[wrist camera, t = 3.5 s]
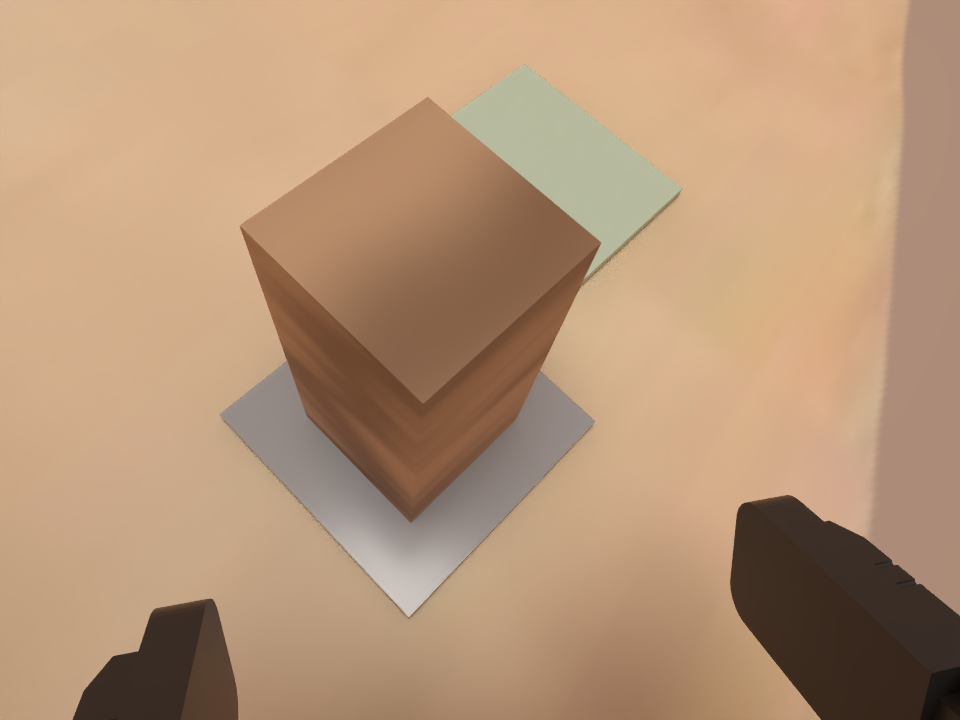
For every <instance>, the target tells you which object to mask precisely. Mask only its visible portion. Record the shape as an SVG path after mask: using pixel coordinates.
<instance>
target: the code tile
mask: <svg viewBox="0 0 960 720" xmlns="http://www.w3.org/2000/svg"><path fill="white" fill-rule="evenodd" d="M220 416H221V418H222V419H223V420H224V421H225V422H226V423H227V424H228V425H229V426H230V428H231V429H232V430H233V431H234V432H235V433H236V434H237V435H238V436H239V437H240V438H241V439H242V440H243V441H244V443H245V444H246V445H247V446H248V447H249V448H250V449H251V450H252V451H253V452H254V453H255V454H256V455H257V456H258V458H259V459H260V460H261V461H262V462H263V463H264V464H265V465H266V466H267V467H268V468H269V469H270V470H271V471H272V473H273V474H274V475H275V476H276V477H277V478H278V479H279V480H280V481H281V482H282V483H283V484H284V485H285V486H286V488H287V489H288V490H289V491H290V492H291V493H292V494H293V495H294V496H295V497H296V498H297V499H298V500H299V501H300V503H301V504H302V505H303V506H304V507H305V508H306V509H307V510H308V511H309V512H310V513H311V514H312V515H313V516H314V517H315V519H316V520H317V521H318V522H319V523H320V524H321V525H322V526H323V527H324V528H325V529H326V530H327V531H328V532H329V534H330V535H331V536H332V537H333V538H334V539H335V540H336V541H337V542H338V543H339V544H340V545H341V546H342V547H343V549H344V550H345V551H346V552H347V553H348V554H349V555H350V556H351V557H352V558H353V559H354V560H355V561H356V562H357V564H358V565H359V566H360V567H361V568H362V569H363V570H364V571H365V572H366V573H367V574H368V575H369V576H370V577H371V579H372V580H373V581H374V582H375V583H376V584H377V585H378V586H379V587H380V588H381V589H382V590H383V591H384V592H385V594H386V595H387V596H388V597H389V598H390V599H391V600H392V601H393V602H394V603H395V604H396V605H397V606H398V607H399V609H400V610H401V611H402V612H403V613H404V614H405V615H406V616H407V617H408V618H409V617H410V616H411V615H412V614H413V613H414V612H415V611H416V610H417V609H418V608H419V607H420V606H421V605H422V604H423V603H424V602H425V601H426V599H427V598H428V597H429V596H430V595H431V594H432V593H433V592H434V591H435V590H436V589H437V588H438V587H439V586H440V585H441V584H442V583H443V582H444V581H445V580H446V578H447V577H448V576H449V575H450V574H451V573H452V572H453V571H454V570H455V569H456V568H457V567H458V566H459V565H460V564H461V563H462V562H463V561H464V560H465V559H466V557H467V556H468V555H469V554H470V553H471V552H472V551H473V550H474V549H475V548H476V547H477V546H478V545H479V544H480V543H481V542H482V541H483V540H484V539H485V538H486V536H487V535H488V534H489V533H490V532H491V531H492V530H493V529H494V528H495V527H496V526H497V525H498V524H499V523H500V522H501V521H502V520H503V519H504V518H505V517H506V515H507V514H508V513H509V512H510V511H511V510H512V509H513V508H514V507H515V506H516V505H517V504H518V503H519V502H520V501H521V500H522V499H523V498H524V497H525V496H526V494H527V493H528V492H529V491H530V490H531V489H532V488H533V487H534V486H535V485H536V484H537V483H538V482H539V481H540V480H541V479H542V478H543V477H544V476H545V475H546V473H547V472H548V471H549V470H550V469H551V468H552V467H553V466H554V465H555V464H556V463H557V462H558V461H559V460H560V459H561V458H562V457H563V456H564V455H565V454H566V453H567V451H568V450H569V449H570V448H571V447H572V446H573V445H574V444H575V443H576V442H577V441H578V440H579V439H580V438H581V437H582V436H583V435H584V434H585V433H586V432H587V430H588V429H589V428H590V427H591V426H592V425H593V424H594V423H595V421H594V420H593V419H592V418H591V417H590V416H589V415H588V414H587V413H586V412H585V411H583V410H582V409H581V408H580V407H579V406H578V405H577V404H576V403H575V402H574V401H572V400H571V399H570V398H569V397H568V396H567V395H566V394H565V393H564V392H563V391H561V390H560V389H559V388H558V387H557V386H556V385H555V384H554V383H553V382H552V381H550V380H549V379H548V378H547V377H546V376H545V375H544V374H543V373H542V372H541V371H539V373H538V375H537V377H536V379H535V381H534V383H533V385H532V387H531V389H530V392H529V394H528V396H527V398H526V400H525V402H524V404H523V406H522V408H521V410H520V412H519V414H518V416H517V418H516V420H515V421H514V422H513V423H512V424H511V425H510V426H509V427H508V428H507V429H506V430H505V431H504V432H503V433H502V434H501V435H500V436H499V437H498V438H497V439H496V440H495V441H494V442H493V443H492V444H491V445H490V446H489V447H488V448H487V449H486V450H485V451H484V452H483V453H482V454H481V455H480V456H479V457H478V458H477V459H476V460H475V461H474V462H473V463H472V464H470V465H469V466H468V467H467V468H466V469H465V470H464V471H463V472H462V473H461V474H460V475H459V476H458V477H457V478H456V479H455V480H454V481H453V482H452V483H451V484H450V485H449V486H448V487H447V488H446V489H445V490H444V491H443V492H442V493H441V494H440V495H439V496H438V497H437V498H436V499H435V500H434V501H433V502H432V503H431V504H430V505H429V506H428V507H427V508H426V509H425V510H424V511H423V512H422V513H421V514H420V515H419V516H418V517H417V518H416V519H415V520H413V521H412V522H411V523H410V522H409V521H408V520H407V519H406V518H405V517H404V516H403V515H402V514H401V513H400V512H399V510H398V509H397V508H396V507H395V506H394V505H393V504H392V503H391V502H390V501H389V500H388V499H387V498H386V497H385V496H384V495H383V494H382V493H381V492H380V491H379V490H378V489H377V488H376V487H375V486H374V485H373V484H372V483H371V482H370V481H369V480H368V479H367V478H366V477H365V476H364V475H363V473H362V472H361V471H360V470H359V469H358V468H357V467H356V466H355V465H354V464H353V463H352V462H351V461H350V460H349V459H348V458H347V457H346V456H345V455H344V454H343V453H342V452H341V451H340V450H339V449H338V448H337V447H336V446H335V445H334V444H333V443H332V442H331V441H330V440H329V439H328V437H327V436H326V435H325V434H324V433H323V432H322V431H321V430H320V429H319V428H318V427H317V426H316V425H315V424H314V423H313V422H312V421H311V420H310V419H309V418H308V417H307V415H306V412H305V409H304V407H303V404H302V401H301V398H300V395H299V392H298V390H297V387H296V384H295V381H294V378H293V375H292V373H291V370H290V367H289V364H288V361H286V362H285V363H284V364H283V365H281V366H280V367H279V368H278V369H276V370H275V371H274V372H273V373H271V374H270V375H269V376H268V377H266V378H265V379H264V380H263V381H261V382H260V383H259V384H258V385H256V386H255V387H254V388H252V389H251V390H250V391H249V392H247V393H246V394H245V395H244V396H242V397H241V398H240V399H239V400H237V401H236V402H235V403H234V404H232V405H231V406H230V407H229V408H227V409H226V410H225V411H224V412H222V413H221V414H220Z"/></svg>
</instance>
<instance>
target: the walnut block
mask: <svg viewBox="0 0 960 720" xmlns="http://www.w3.org/2000/svg"><path fill="white" fill-rule="evenodd" d="M240 228H241V231H242V234H243V237H244V239H245V242H246V245H247V248H248V251H249V254H250V256H251V259H252V262H253V265H254V268H255V271H256V273H257V276H258V279H259V282H260V285H261V288H262V290H263V293H264V296H265V299H266V302H267V305H268V307H269V310H270V313H271V316H272V319H273V322H274V324H275V327H276V330H277V333H278V336H279V339H280V341H281V344H282V347H283V350H284V353H285V356H286V358H287V361H288V364H289V367H290V370H291V373H292V375H293V378H294V381H295V384H296V387H297V390H298V392H299V395H300V398H301V401H302V404H303V407H304V409H305V412H306V415H307V417H308V418H309V419H310V420H311V421H312V422H313V423H314V424H315V425H316V426H317V427H318V428H319V429H320V430H321V431H322V432H323V433H324V434H325V435H326V436H327V437H328V439H329V440H330V441H331V442H332V443H333V444H334V445H335V446H336V447H337V448H338V449H339V450H340V451H341V452H342V453H343V454H344V455H345V456H346V457H347V458H348V459H349V460H350V461H351V462H352V463H353V464H354V465H355V466H356V467H357V468H358V469H359V470H360V471H361V472H362V473H363V475H364V476H365V477H366V478H367V479H368V480H369V481H370V482H371V483H372V484H373V485H374V486H375V487H376V488H377V489H378V490H379V491H380V492H381V493H382V494H383V495H384V496H385V497H386V498H387V499H388V500H389V501H390V502H391V503H392V504H393V505H394V506H395V507H396V508H397V509H398V510H399V512H400V513H401V514H402V515H403V516H404V517H405V518H406V519H407V520H408V521H409V522H410V523H411V522H412V521H413V520H415V519H416V518H417V517H418V516H419V515H420V514H421V513H422V512H423V511H424V510H425V509H426V508H427V507H428V506H429V505H430V504H431V503H432V502H433V501H434V500H435V499H436V498H437V497H438V496H439V495H440V494H441V493H442V492H443V491H444V490H445V489H446V488H447V487H448V486H449V485H450V484H451V483H452V482H453V481H454V480H455V479H456V478H457V477H458V476H459V475H460V474H461V473H462V472H463V471H464V470H465V469H466V468H467V467H468V466H469V465H470V464H472V463H473V462H474V461H475V460H476V459H477V458H478V457H479V456H480V455H481V454H482V453H483V452H484V451H485V450H486V449H487V448H488V447H489V446H490V445H491V444H492V443H493V442H494V441H495V440H496V439H497V438H498V437H499V436H500V435H501V434H502V433H503V432H504V431H505V430H506V429H507V428H508V427H509V426H510V425H511V424H512V423H513V422H514V421H515V420H516V418H517V416H518V414H519V412H520V410H521V408H522V406H523V404H524V402H525V400H526V398H527V396H528V394H529V392H530V389H531V387H532V385H533V383H534V381H535V379H536V377H537V375H538V373H539V371H540V369H541V367H542V365H543V363H544V361H545V358H546V356H547V354H548V352H549V350H550V348H551V346H552V344H553V342H554V340H555V338H556V336H557V334H558V332H559V330H560V327H561V325H562V323H563V321H564V319H565V317H566V315H567V313H568V311H569V309H570V307H571V305H572V303H573V301H574V299H575V296H576V294H577V292H578V290H579V288H580V286H581V284H582V282H583V280H584V278H585V276H586V274H587V272H588V270H589V268H590V265H591V263H592V261H593V259H594V257H595V255H596V253H597V251H598V249H599V247H600V245H601V242H600V241H599V240H598V239H597V238H595V237H594V236H593V235H592V234H591V233H589V232H588V231H587V230H586V229H585V228H584V227H582V226H581V225H580V224H579V223H578V222H576V221H575V220H574V219H573V218H572V217H570V216H569V215H568V214H567V213H566V212H564V211H563V210H562V209H561V208H560V207H558V206H557V205H556V204H555V203H554V202H552V201H551V200H550V199H549V198H548V197H546V196H545V195H544V194H543V193H542V192H541V191H539V190H538V189H537V188H536V187H535V186H533V185H532V184H531V183H530V182H529V181H527V180H526V179H525V178H524V177H523V176H521V175H520V174H519V173H518V172H517V171H515V170H514V169H513V168H512V167H511V166H509V165H508V164H507V163H506V162H505V161H503V160H502V159H501V158H500V157H499V156H498V155H496V154H495V153H494V152H493V151H492V150H490V149H489V148H488V147H487V146H486V145H484V144H483V143H482V142H481V141H480V140H478V139H477V138H476V137H475V136H474V135H472V134H471V133H470V132H469V131H468V130H466V129H465V128H464V127H463V126H462V125H461V124H459V123H458V122H457V121H456V120H455V119H453V118H452V117H451V116H450V115H449V114H447V113H446V112H445V111H444V110H443V109H441V108H440V107H439V106H438V105H437V104H435V103H434V102H433V101H432V100H431V99H429V98H428V97H427V98H426V99H424V100H423V101H421V102H420V103H418V104H417V105H415V106H414V107H413V108H411V109H410V110H408V111H407V112H405V113H404V114H402V115H401V116H399V117H398V118H396V119H395V120H393V121H392V122H391V123H389V124H388V125H386V126H385V127H383V128H382V129H380V130H379V131H377V132H376V133H374V134H373V135H372V136H370V137H369V138H367V139H366V140H364V141H363V142H361V143H360V144H358V145H357V146H355V147H354V148H353V149H351V150H350V151H348V152H347V153H345V154H344V155H342V156H341V157H339V158H338V159H336V160H335V161H333V162H332V163H331V164H329V165H328V166H326V167H325V168H323V169H322V170H320V171H319V172H317V173H316V174H314V175H313V176H312V177H310V178H309V179H307V180H306V181H304V182H303V183H301V184H300V185H298V186H297V187H295V188H294V189H293V190H291V191H290V192H288V193H287V194H285V195H284V196H282V197H281V198H279V199H278V200H276V201H275V202H273V203H272V204H271V205H269V206H268V207H266V208H265V209H263V210H262V211H260V212H259V213H257V214H256V215H254V216H253V217H252V218H250V219H249V220H247V221H246V222H244V223H243V224H241V225H240Z"/></svg>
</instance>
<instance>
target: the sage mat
mask: <svg viewBox="0 0 960 720" xmlns="http://www.w3.org/2000/svg"><path fill="white" fill-rule="evenodd" d="M451 117H452V118H453V119H455V120H456V121H457V122H458V123H459V124H461V125H462V126H463V127H464V128H465V129H466V130H468V131H469V132H470V133H471V134H472V135H474V136H475V137H476V138H477V139H478V140H480V141H481V142H482V143H483V144H484V145H486V146H487V147H488V148H489V149H490V150H492V151H493V152H494V153H495V154H496V155H498V156H499V157H500V158H501V159H502V160H503V161H505V162H506V163H507V164H508V165H509V166H511V167H512V168H513V169H514V170H515V171H517V172H518V173H519V174H520V175H521V176H523V177H524V178H525V179H526V180H527V181H529V182H530V183H531V184H532V185H533V186H535V187H536V188H537V189H538V190H539V191H541V192H542V193H543V194H544V195H545V196H546V197H548V198H549V199H550V200H551V201H552V202H554V203H555V204H556V205H557V206H558V207H560V208H561V209H562V210H563V211H564V212H566V213H567V214H568V215H569V216H570V217H572V218H573V219H574V220H575V221H576V222H578V223H579V224H580V225H581V226H582V227H584V228H585V229H586V230H587V231H588V232H589V233H591V234H592V235H593V236H594V237H595V238H597V239H598V240H599V241H600V242H601V245H600V247H599V249H598V251H597V253H596V255H595V257H594V259H593V261H592V263H591V265H590V268H589V270H588V272H587V274H586V276H585V278H584V280H583V282H582V284H583V283H584V282H586V281H587V280H588V279H589V278H590V277H591V276H592V275H593V274H594V273H595V272H596V271H597V270H599V269H600V268H601V267H602V266H603V265H604V264H605V263H606V262H607V261H608V260H609V259H610V258H612V257H613V256H614V255H615V254H616V253H617V252H618V251H619V250H620V249H621V248H622V247H623V246H624V245H626V244H627V243H628V242H629V241H630V240H631V239H632V238H633V237H634V236H635V235H636V234H637V233H639V232H640V231H641V230H642V229H643V228H644V227H645V226H646V225H647V224H648V223H649V222H650V221H652V220H653V219H654V218H655V217H656V216H657V215H658V214H659V213H660V212H661V211H662V210H663V209H664V208H666V207H667V206H668V205H669V204H670V203H671V202H672V201H673V200H674V199H675V198H676V197H677V196H678V195H679V194H680V192H681V190H682V189H683V188H681V187H680V186H679V185H678V184H676V183H675V182H674V181H673V180H671V179H670V178H669V177H667V176H666V175H665V174H664V173H662V172H661V171H660V170H659V169H657V168H656V167H655V166H654V165H652V164H651V163H650V162H648V161H647V160H646V159H645V158H643V157H642V156H641V155H640V154H638V153H637V152H636V151H635V150H633V149H632V148H631V147H630V146H628V145H627V144H626V143H624V142H623V141H622V140H621V139H619V138H618V137H617V136H616V135H614V134H613V133H612V132H611V131H609V130H608V129H607V128H605V127H604V126H603V125H602V124H600V123H599V122H598V121H597V120H595V119H594V118H593V117H592V116H590V115H589V114H588V113H586V112H585V111H584V110H583V109H581V108H580V107H579V106H578V105H576V104H575V103H574V102H573V101H571V100H570V99H569V98H567V97H566V96H565V95H564V94H562V93H561V92H560V91H559V90H557V89H556V88H555V87H554V86H552V85H551V84H550V83H548V82H547V81H546V80H545V79H543V78H542V77H541V76H540V75H538V74H537V73H536V72H535V71H533V70H532V69H531V68H530V67H528V66H527V65H526V64H524V65H522V66H521V67H519V68H518V69H517V70H515V71H514V72H512V73H511V74H509V75H508V76H507V77H505V78H504V79H502V80H501V81H500V82H498V83H497V84H495V85H494V86H493V87H491V88H490V89H488V90H487V91H486V92H484V93H483V94H481V95H480V96H478V97H477V98H476V99H474V100H473V101H471V102H470V103H469V104H467V105H466V106H464V107H463V108H462V109H460V110H459V111H457V112H456V113H454V114H453V115H452V116H451ZM582 284H581V285H582Z"/></svg>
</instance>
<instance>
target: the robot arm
mask: <svg viewBox="0 0 960 720" xmlns="http://www.w3.org/2000/svg"><path fill="white" fill-rule="evenodd" d="M730 585H731V593H732V598H733V601H734V604H735V607H736V609H737V612H738V614H739V616H740V617H741V619H742V621H743V622H744V623H745V625H746V626H747V627H748V628H749V630H750V631H751V632H752V633H753V635H754V636H755V637H756V638H757V640H758V641H759V642H760V643H761V645H762V646H763V647H764V649H765V650H766V651H767V652H768V654H769V655H770V656H771V657H772V659H773V660H774V661H775V662H776V664H777V665H778V666H779V667H780V669H781V670H782V671H783V672H784V674H785V675H786V676H787V677H788V679H789V680H790V681H791V682H792V684H793V685H794V686H795V687H796V689H797V690H798V691H799V692H800V694H801V695H802V696H803V697H804V699H805V700H806V701H807V702H808V704H809V705H810V706H811V707H812V709H813V710H814V711H815V712H816V714H817V715H818V716H819V717H820V719H821V720H960V616H959V615H958V614H957V613H955V612H954V611H953V610H952V609H951V608H949V607H948V606H947V605H946V604H944V603H943V602H942V601H941V600H940V599H938V598H937V597H936V596H935V595H934V594H932V593H931V592H930V591H929V590H927V589H926V588H925V587H924V586H923V585H921V584H918V585H917V584H916V583H915V579H914V578H913V577H912V576H910V575H909V574H908V573H907V572H906V571H904V570H903V569H902V568H900V567H899V566H898V565H893V564H892V560H891V559H890V558H888V557H887V556H886V555H885V554H884V553H882V552H881V551H880V550H879V549H877V548H876V547H875V546H874V545H873V544H871V543H870V542H869V541H868V540H867V539H865V538H864V537H862V536H860V535H858V534H856V533H854V532H852V531H850V530H847V529H845V528H843V527H841V526H839V525H837V524H835V523H833V522H831V521H825V522H824V521H823V520H821V519H820V518H819V517H818V516H817V515H816V514H814V513H813V512H812V511H811V510H810V509H809V508H807V507H806V506H805V505H804V504H803V503H802V502H800V501H799V500H798V499H796V498H795V497H793V496H790V495H785V496H779V497H774V498H768V499H763V500H757V501H752V502H747V503H744V504H742V505H741V506H740V508H739V509H738V512H737V518H736V529H735V539H734V549H733V559H732V569H731V580H730ZM73 720H238V699H237V689H236V683H235V678H234V674H233V670H232V666H231V662H230V658H229V654H228V650H227V646H226V642H225V638H224V634H223V630H222V626H221V622H220V618H219V614H218V610H217V607H216V604H215V602H214V601H213V599H205V600H200V601H194V602H189V603H183V604H178V605H172V606H167V607H161V608H156V609H154V610H153V611H152V613H151V615H150V618H149V621H148V624H147V627H146V630H145V633H144V636H143V639H142V643H141V646H140V649H139V651H138V652H133V653H127V654H122V655H117V656H113V657H112V658H111V659H110V661H109V662H108V663H107V664H106V665H105V666H104V668H103V669H102V670H101V671H100V672H99V674H98V675H97V676H96V677H95V678H94V679H93V681H92V682H91V683H90V684H89V685H88V687H87V688H86V689H85V690H84V692H83V694H82V697H81V700H80V702H79V705H78V707H77V710H76V712H75V715H74V717H73Z"/></svg>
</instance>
